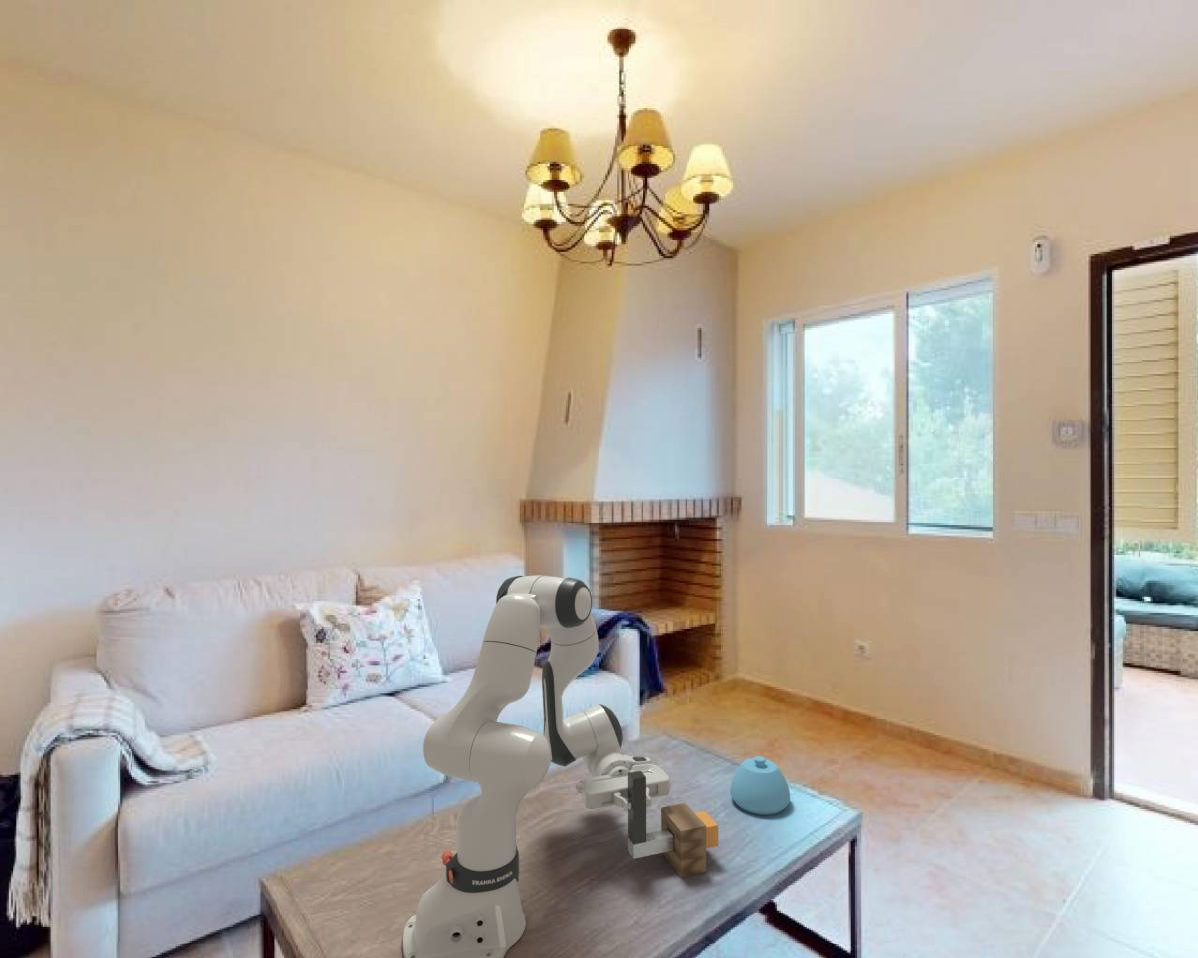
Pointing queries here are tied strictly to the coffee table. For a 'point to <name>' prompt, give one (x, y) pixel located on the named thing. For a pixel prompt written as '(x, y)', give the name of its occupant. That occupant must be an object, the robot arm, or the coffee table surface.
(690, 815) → the bearing block
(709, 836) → the block
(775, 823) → the coffee table surface
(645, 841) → the grey l-shaped piece
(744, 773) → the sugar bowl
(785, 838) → the coffee table surface
